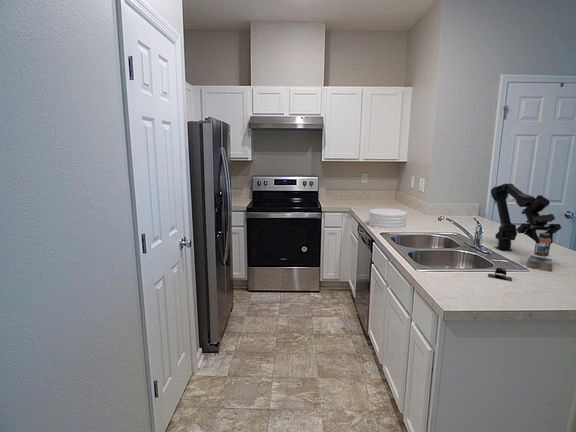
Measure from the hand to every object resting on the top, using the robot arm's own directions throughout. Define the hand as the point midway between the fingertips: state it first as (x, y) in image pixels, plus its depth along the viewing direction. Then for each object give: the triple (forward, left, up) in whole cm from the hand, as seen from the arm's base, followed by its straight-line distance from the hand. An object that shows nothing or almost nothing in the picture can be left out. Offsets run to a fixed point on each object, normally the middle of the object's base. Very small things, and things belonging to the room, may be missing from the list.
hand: (545, 243), depth 164 cm
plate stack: (-98, -41, -13) cm, 107 cm away
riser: (-1, 0, -13) cm, 13 cm away
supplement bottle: (-1, 0, -7) cm, 7 cm away
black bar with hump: (+10, -30, -14) cm, 34 cm away
